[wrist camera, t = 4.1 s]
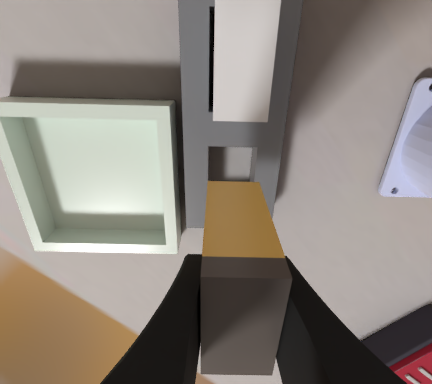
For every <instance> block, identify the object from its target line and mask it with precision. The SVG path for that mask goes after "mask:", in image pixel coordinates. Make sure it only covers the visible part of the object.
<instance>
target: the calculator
mask: <svg viewBox="0 0 432 384" xmlns="http://www.w3.org/2000/svg"><path fill="white" fill-rule="evenodd" d="M362 343H363V344H364V345H365V346H366V347H367V348H368V349H369V350H370V351H371V352H372V353H373V354H375V355H376V356H377V357H378V358H379V359H380V360H381V361H382V362H383V363H384V364H385V365H386V366H388V367H389V368H390V369H391V370H392V371H393V372H394V373H395V374H397V375H398V376H399V377H400V378H401V379H403V380H404V381H405V382H406V383H407V384H432V304H428V305H426V306H424V307H422V308H420V309H418V310H416V311H414V312H413V313H411V314H409V315H407V316H405V317H403V318H402V319H400V320H398V321H396V322H394V323H392V324H391V325H389V326H387V327H385V328H383V329H382V330H380V331H378V332H377V333H375V334H373V335H372V336H370V337H369V338H367V339H365V340H364V341H362Z"/></svg>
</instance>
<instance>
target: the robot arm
mask: <svg viewBox="0 0 432 384" xmlns="http://www.w3.org/2000/svg"><path fill="white" fill-rule="evenodd" d="M431 84H432V78H420V79H419V80H417V81H416V82H415V84H414V86H413V88H412V91H411V94H410V97H409V100H408V103H407V106H406V109H405V112H404V115H403V118H402V120H401V123H400V126H399V129H398V132H397V135H396V138H395V141H394V144H393V147H392V150H391V153H390V156H389V159H388V162H387V165H386V167H385V170H384V173H383V176H382V179H381V182H380V185H379V188H378V192H379V193H380V194H381V195H382V196H389V197H431V198H432V89H431V90H430V91H429V86H430V85H431ZM393 188H395V189H394V190H393V191H391V190H392V189H393ZM285 258H286V261H287V264H288V267H289V270H290V273H291V276H292V284H291V288H290V293H289V298H288V302H287V307H286V312H285V317H284V321H283V326H282V331H281V335H280V340H279V345H278V350H277V354H276V359H277V363H278V367H279V371H280V375H281V379H282V383H283V384H407V383H406V382H405V381H404V380H403V379H401V378H400V377H399V376H398V375H397V374H395V373H394V372H393V371H392V370H391V369H390V368H389V367H388V366H386V365H385V364H384V363H383V362H382V361H381V360H380V359H379V358H378V357H377V356H376V355H375V354H373V353H372V352H371V351H370V350H369V349H368V348H367V347H366V346H365V345H364V344H363V343H362V342H361V341H360V340H359V339H358V338H357V337H356V336H355V335H354V334H353V333H352V332H351V331H350V330H349V329H348V328H347V327H346V326H345V325H344V324H343V323H342V322H341V320H340V319H339V318H338V317H337V316H336V315H335V314H334V313H333V312H332V311H331V310H330V308H329V307H328V306H327V305H326V304H325V303H324V302H323V300H322V299H321V298H320V297H319V296H318V295H317V293H316V292H315V291H314V290H313V289H312V287H311V286H310V285H309V284H308V282H307V281H306V280H305V279H304V277H303V276H302V275H301V274H300V272H299V271H298V270H297V268H296V267H295V266H294V265H293V263H292V262H291V261H290V259H289V258H288V257H287V256H285ZM201 264H202V254H188V255H187V256H185V258H184V261H183V264H182V266H181V268H180V270H179V272H178V274H177V276H176V278H175V280H174V282H173V284H172V286H171V287H170V289H169V291H168V292H167V294H166V296H165V298H164V299H163V301H162V303H161V304H160V306H159V307H158V309H157V310H156V312H155V313H154V315H153V316H152V318H151V319H150V321H149V322H148V324H147V325H146V327H145V328H144V329H143V331H142V332H141V334H140V335H139V336H138V338H137V339H136V340H135V342H134V343H133V344H132V346H131V347H130V348H129V349H128V351H127V352H126V353H125V355H124V356H123V357H122V358H121V360H120V361H119V362H118V363H117V364H116V365H115V367H114V368H113V369H112V370H111V371H110V373H109V374H108V375H107V376H106V377H105V379H104V380H103V381H102V382H101V383H100V384H195V379H196V372H197V365H198V358H199V350H200V343H201Z"/></svg>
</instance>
